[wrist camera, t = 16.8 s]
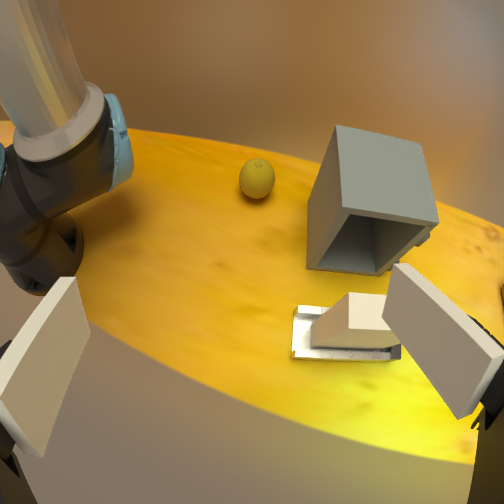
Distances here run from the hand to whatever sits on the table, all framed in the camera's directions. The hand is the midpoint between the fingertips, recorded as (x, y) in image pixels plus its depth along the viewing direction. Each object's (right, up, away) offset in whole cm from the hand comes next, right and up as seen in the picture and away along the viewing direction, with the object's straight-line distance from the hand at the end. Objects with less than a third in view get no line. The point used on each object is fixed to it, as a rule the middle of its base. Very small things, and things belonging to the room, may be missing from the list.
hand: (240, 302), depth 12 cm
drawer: (+14, -10, +32) cm, 36 cm away
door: (+14, -10, +31) cm, 35 cm away
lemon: (+1, +12, +40) cm, 42 cm away
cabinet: (+15, +4, +38) cm, 41 cm away
